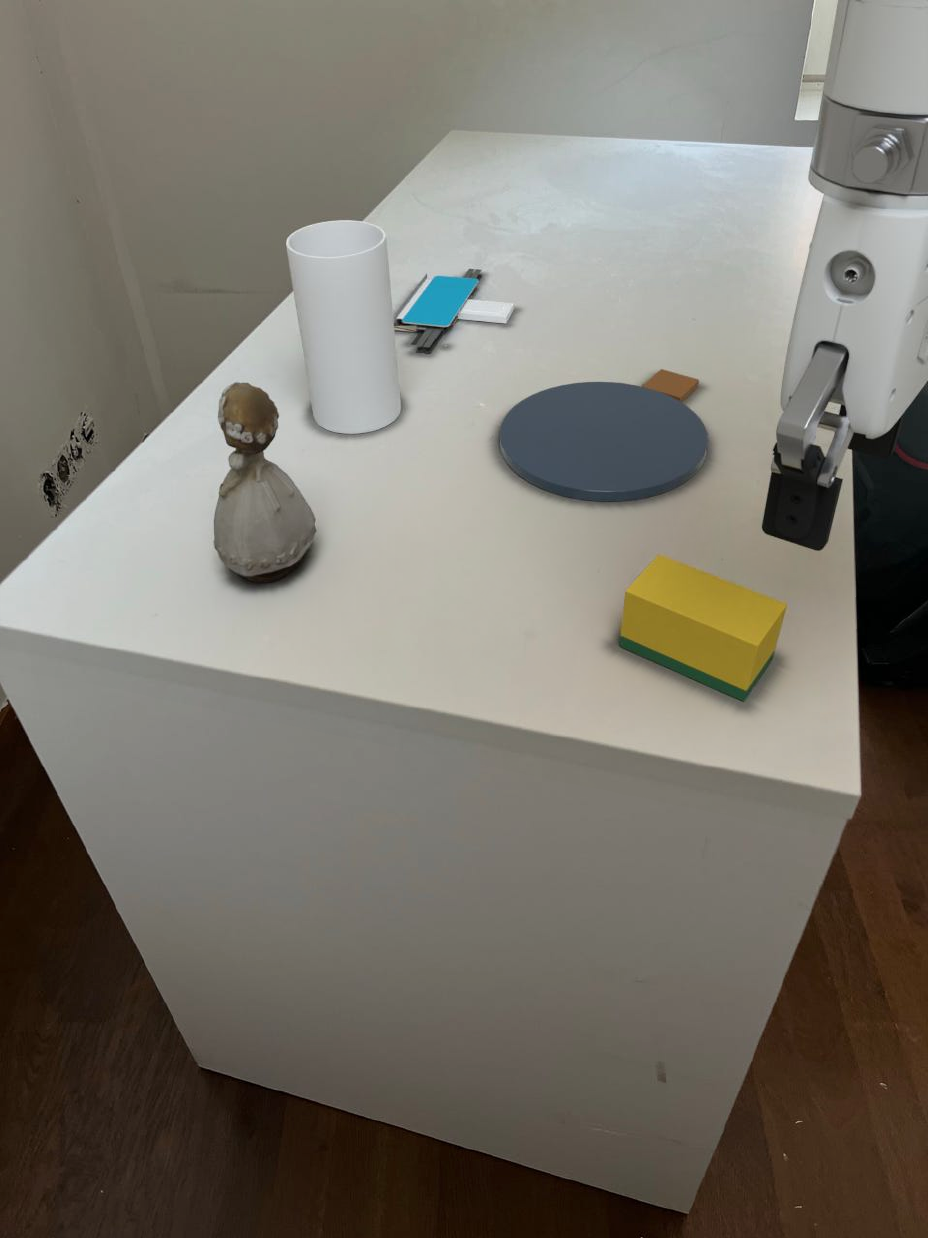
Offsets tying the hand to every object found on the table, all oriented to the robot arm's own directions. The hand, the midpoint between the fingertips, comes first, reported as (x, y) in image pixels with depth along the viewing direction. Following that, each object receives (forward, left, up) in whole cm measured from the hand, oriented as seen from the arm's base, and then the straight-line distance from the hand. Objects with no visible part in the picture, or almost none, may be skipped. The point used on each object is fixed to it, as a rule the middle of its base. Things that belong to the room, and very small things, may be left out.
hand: (829, 492), depth 50 cm
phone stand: (+32, -52, -16) cm, 63 cm away
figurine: (+37, -7, -16) cm, 40 cm away
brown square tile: (+8, -38, -15) cm, 42 cm away
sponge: (+5, -3, -15) cm, 16 cm away
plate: (+14, -28, -15) cm, 35 cm away
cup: (+37, -30, -16) cm, 50 cm away
